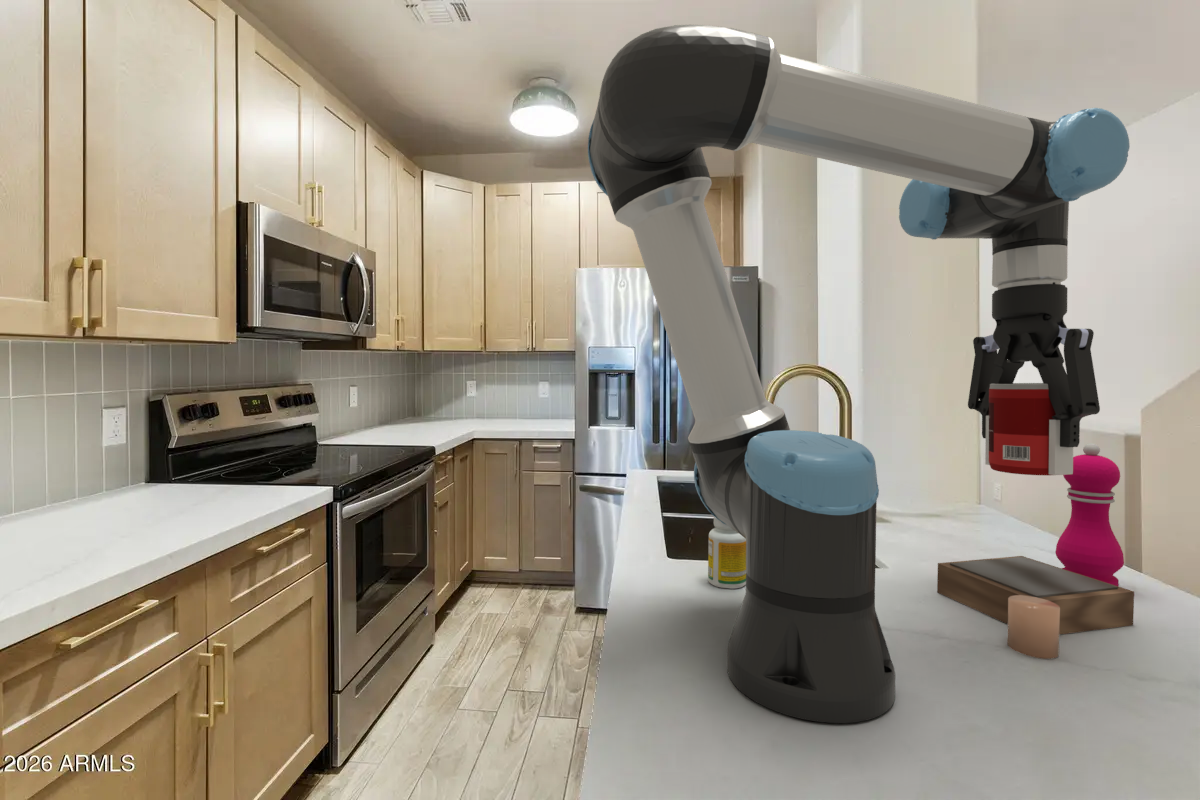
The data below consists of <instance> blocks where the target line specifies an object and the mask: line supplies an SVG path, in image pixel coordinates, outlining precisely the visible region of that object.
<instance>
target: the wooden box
mask: <svg viewBox="0 0 1200 800" xmlns="http://www.w3.org/2000/svg"><path fill="white" fill-rule="evenodd" d="M1062 568H1063V567H1058V566H1055V565H1052V564H1048V563H1045V562H1042V561H1040V560H1035V559H1033V558H1029V557H1026V556H1023V555H1017V556H1005V557H1004V556H1003V557H992V558H981V559H971V560H959V561H950V562H949V561H948V562H938V563H937V588H936V589H937V590H936V593H938V594H939V595H942V596H945V597H947V598H948V599H951V600H954V601H956V602H958V603H960V604H962V605H965V606H966V607H968V608H971V609H973V610H976V611H978V612H979V613H982V614H985V615H986V616H989V617H990V618H993V619H996V620H997V621H1000V622H1002V623H1003V624H1006V625H1008V598H1009V597H1010V596H1014V595H1024V596H1032V597H1037V598H1042V599H1045V600H1048V601H1051V602H1053V603H1055V604H1057V605H1058V606H1059V607H1060V626H1059V636H1060V635H1067V634H1075V633H1082V632H1089V631H1098V630H1105V629H1112V628H1113V629H1114V628H1121V627H1129V626H1134V613H1135V612H1134V606H1135V591H1134V590H1131V589H1127V588H1123V587H1121V586H1119V585H1118V586H1115V585H1112V584H1109V583H1106V582H1103V581H1099V580H1096V579H1093V578H1090V577H1087V576H1084V575H1081V574H1077V573H1074V572H1071V571H1068V570H1065V569H1062Z"/></svg>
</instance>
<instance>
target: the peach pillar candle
mask: <svg viewBox="0 0 1200 800" xmlns="http://www.w3.org/2000/svg"><path fill="white" fill-rule="evenodd" d="M1059 626H1060V607H1059V606H1058V605H1057V604H1055V603H1053V602H1051V601H1048V600H1045V599H1042V598H1037V597H1032V596H1024V595H1014V596H1010V597H1009V598H1008V624H1007V638H1006V639H1007V641H1006V643H1007V644H1006V645H1007V646H1008V647H1009V648H1010V649H1011V650H1013V651H1015V652H1016V653H1018V654H1022V655H1024V656H1028V657H1031V658H1035V659H1041V660H1042V659H1043V660H1053V659H1057V658H1058V657H1060V656H1059V655H1060V653H1059V652H1060V635H1059Z"/></svg>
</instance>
